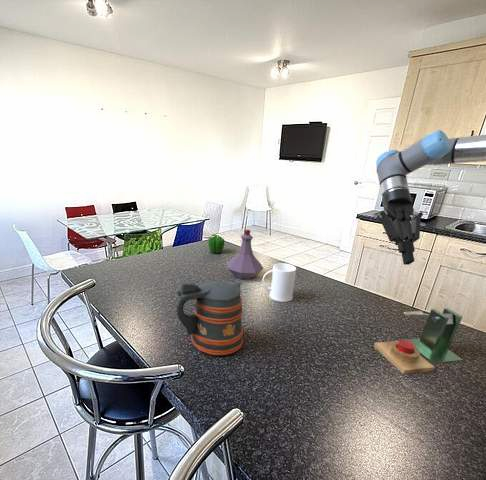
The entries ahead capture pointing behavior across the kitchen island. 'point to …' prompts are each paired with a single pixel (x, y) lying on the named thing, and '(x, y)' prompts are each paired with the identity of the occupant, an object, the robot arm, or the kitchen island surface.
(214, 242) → the bell pepper
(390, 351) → the button block
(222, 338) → the beer stein
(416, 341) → the bracket
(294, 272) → the mug
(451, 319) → the lever
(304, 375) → the kitchen island surface
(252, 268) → the flask
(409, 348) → the button
